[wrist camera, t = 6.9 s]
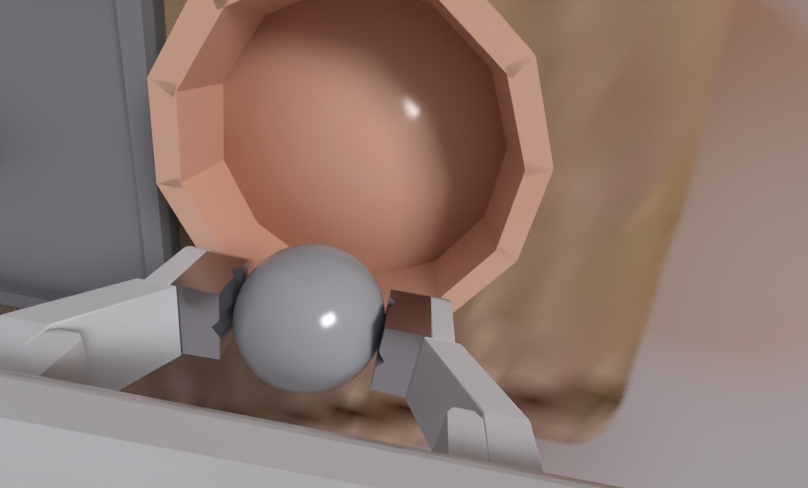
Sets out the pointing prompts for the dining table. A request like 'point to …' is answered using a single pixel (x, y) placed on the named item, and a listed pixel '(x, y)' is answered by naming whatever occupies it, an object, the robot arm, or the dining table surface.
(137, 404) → the robot arm
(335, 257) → the pebble
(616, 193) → the dining table surface
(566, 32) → the dining table surface
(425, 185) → the bowl
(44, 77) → the tray
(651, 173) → the dining table surface
